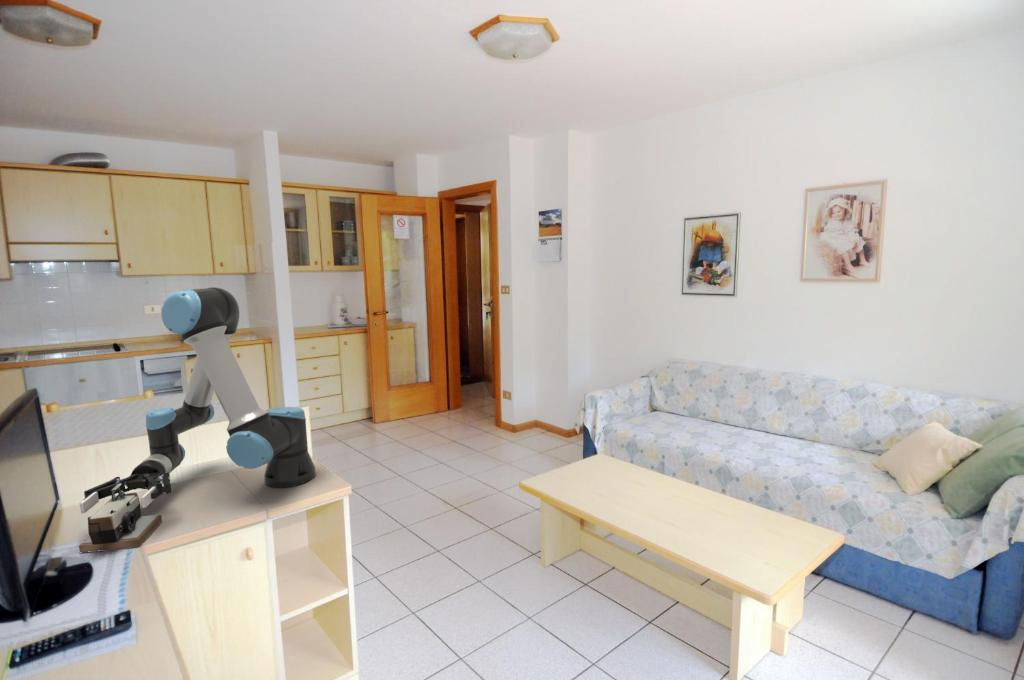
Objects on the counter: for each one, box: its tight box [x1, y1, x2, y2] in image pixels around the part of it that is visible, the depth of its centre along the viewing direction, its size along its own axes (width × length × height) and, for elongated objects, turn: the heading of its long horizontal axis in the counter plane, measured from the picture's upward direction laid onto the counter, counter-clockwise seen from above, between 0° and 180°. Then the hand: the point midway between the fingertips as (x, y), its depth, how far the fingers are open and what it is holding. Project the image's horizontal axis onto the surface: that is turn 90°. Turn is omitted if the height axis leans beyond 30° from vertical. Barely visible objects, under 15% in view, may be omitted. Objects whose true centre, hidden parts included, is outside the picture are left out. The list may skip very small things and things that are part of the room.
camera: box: [87, 484, 142, 545], centre depth 137 cm, size 15×8×10 cm, turn 11°
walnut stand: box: [78, 514, 163, 553], centre depth 138 cm, size 13×13×2 cm
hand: (112, 505), depth 134 cm, fingers open, 13 cm apart
